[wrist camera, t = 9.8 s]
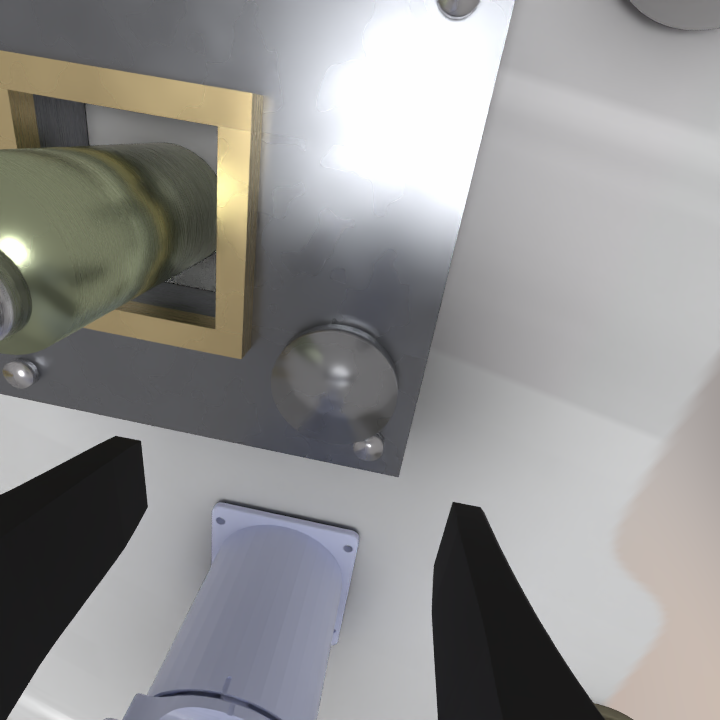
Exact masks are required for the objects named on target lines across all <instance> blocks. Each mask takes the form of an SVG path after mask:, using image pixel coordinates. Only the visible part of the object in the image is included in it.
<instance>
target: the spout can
mask: <svg viewBox="0 0 720 720" xmlns="http://www.w3.org/2000/svg"><path fill="white" fill-rule="evenodd" d="M216 244H217V176H216V174H215V173H214V172H213V170H212V169H211V168H210V167H209V165H208V164H207V163H206V162H205V161H204V160H203V159H201V158H200V157H199V156H198V155H196V154H195V153H193V152H191V151H190V150H188V149H186V148H184V147H181V146H178V145H175V144H170V143H143V144H119V145H95V146H71V147H47V148H22V149H0V353H2V354H11V355H22V354H30V353H35V352H38V351H41V350H43V349H46V348H47V347H49V346H51V345H53V344H55V343H56V342H58V341H60V340H62V339H63V338H65V337H67V336H69V335H70V334H72V333H74V332H76V331H78V330H79V329H81V328H83V327H85V326H86V325H88V324H90V323H92V322H93V321H95V320H97V319H99V318H101V317H102V316H104V315H106V314H108V313H109V312H111V311H113V310H115V309H116V308H118V307H120V306H122V305H124V304H125V303H127V302H129V301H131V300H132V299H134V298H136V297H138V296H140V295H141V294H143V293H145V292H147V291H148V290H150V289H152V288H154V287H155V286H157V285H159V284H161V283H163V282H164V281H166V280H168V279H170V278H171V277H173V276H175V275H177V274H178V273H180V272H182V271H184V270H186V269H187V268H189V267H191V266H193V265H194V264H196V263H198V262H200V261H201V260H203V259H205V258H207V257H208V256H210V255H211V254H212V253H213V252H215V250H216Z"/></svg>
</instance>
